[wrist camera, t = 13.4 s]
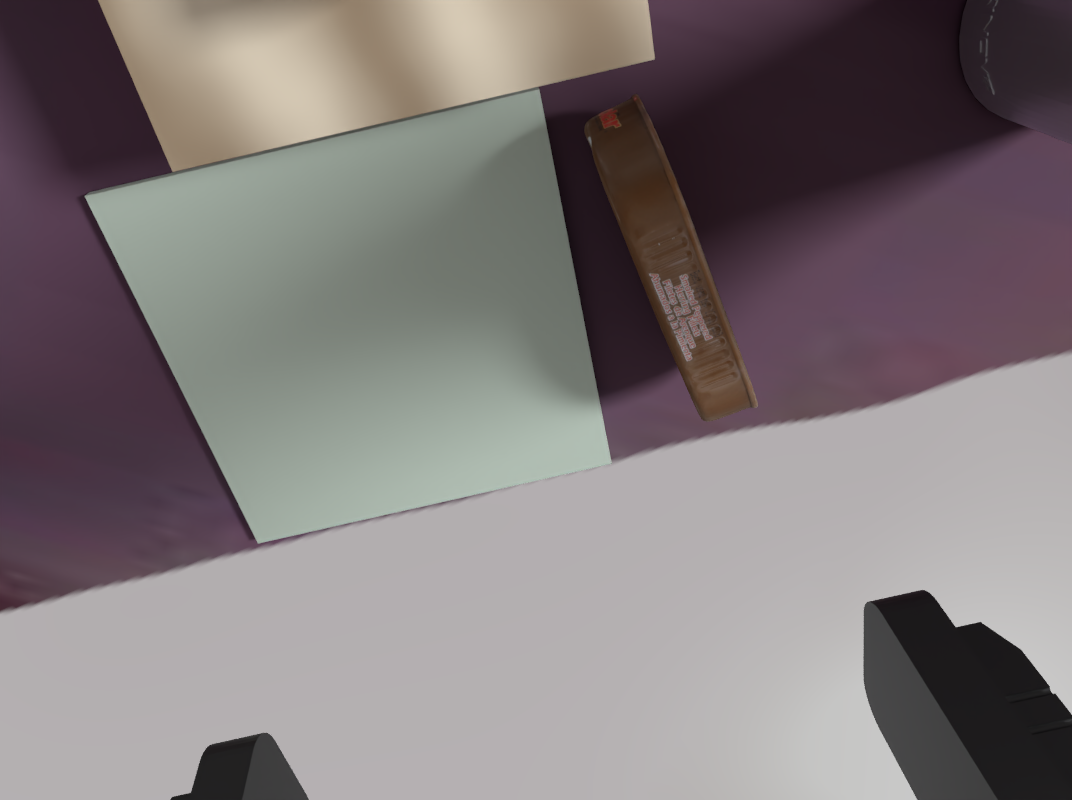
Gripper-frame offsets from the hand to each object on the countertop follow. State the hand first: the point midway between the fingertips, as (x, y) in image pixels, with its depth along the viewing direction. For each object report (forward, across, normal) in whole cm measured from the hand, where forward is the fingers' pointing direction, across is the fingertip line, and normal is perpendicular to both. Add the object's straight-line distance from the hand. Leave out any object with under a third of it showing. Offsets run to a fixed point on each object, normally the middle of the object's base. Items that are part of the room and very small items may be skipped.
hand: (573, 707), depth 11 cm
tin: (+30, -7, +6) cm, 32 cm away
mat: (+30, +7, +8) cm, 32 cm away
